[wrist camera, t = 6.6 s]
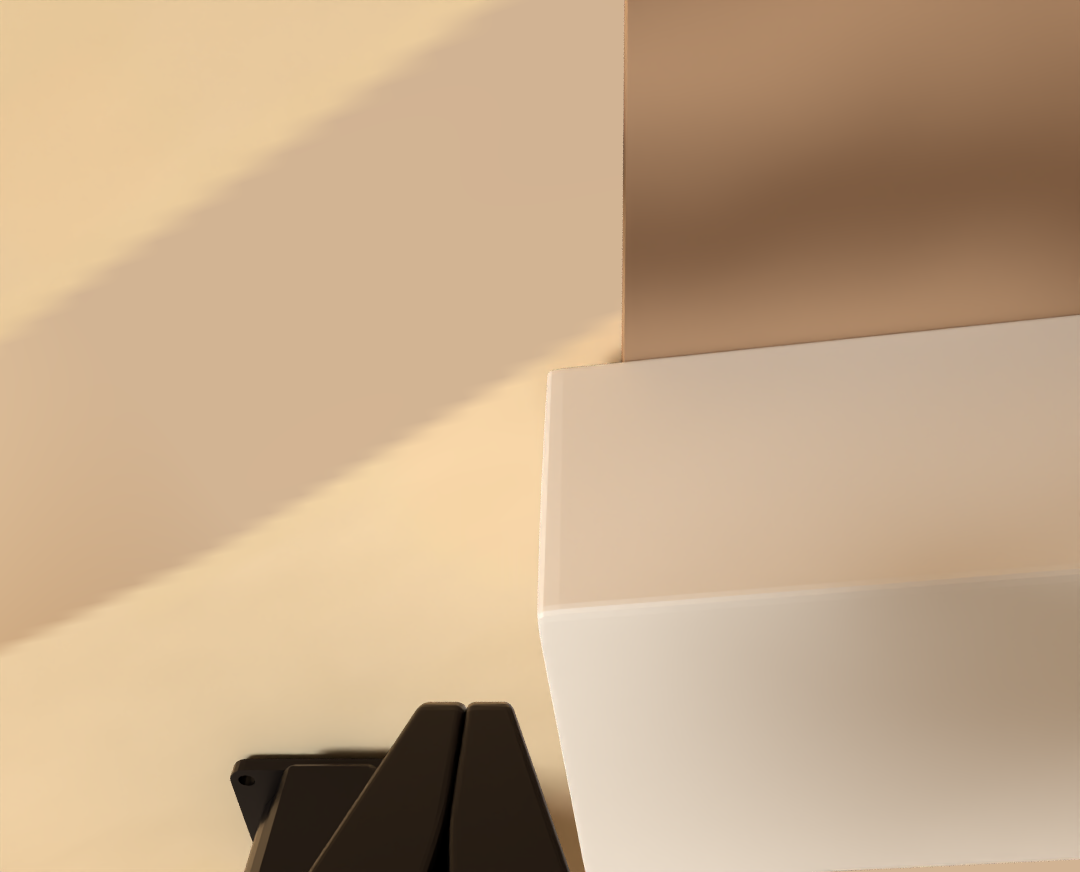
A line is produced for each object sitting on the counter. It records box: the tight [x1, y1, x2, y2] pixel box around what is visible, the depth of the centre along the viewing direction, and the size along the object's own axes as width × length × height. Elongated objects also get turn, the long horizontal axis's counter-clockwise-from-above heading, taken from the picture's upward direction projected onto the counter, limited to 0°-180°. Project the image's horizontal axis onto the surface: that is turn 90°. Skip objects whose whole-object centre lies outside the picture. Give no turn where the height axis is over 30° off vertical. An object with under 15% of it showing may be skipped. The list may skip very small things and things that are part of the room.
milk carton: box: [538, 315, 1080, 872], centre depth 18 cm, size 7×7×19 cm
